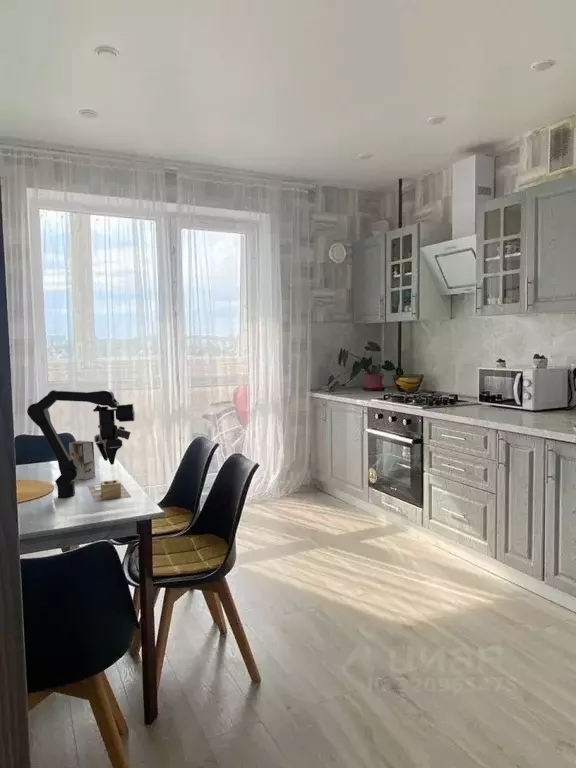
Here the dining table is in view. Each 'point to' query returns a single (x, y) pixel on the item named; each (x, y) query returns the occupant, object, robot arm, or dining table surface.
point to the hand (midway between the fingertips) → (109, 462)
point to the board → (98, 497)
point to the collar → (110, 489)
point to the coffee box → (83, 458)
